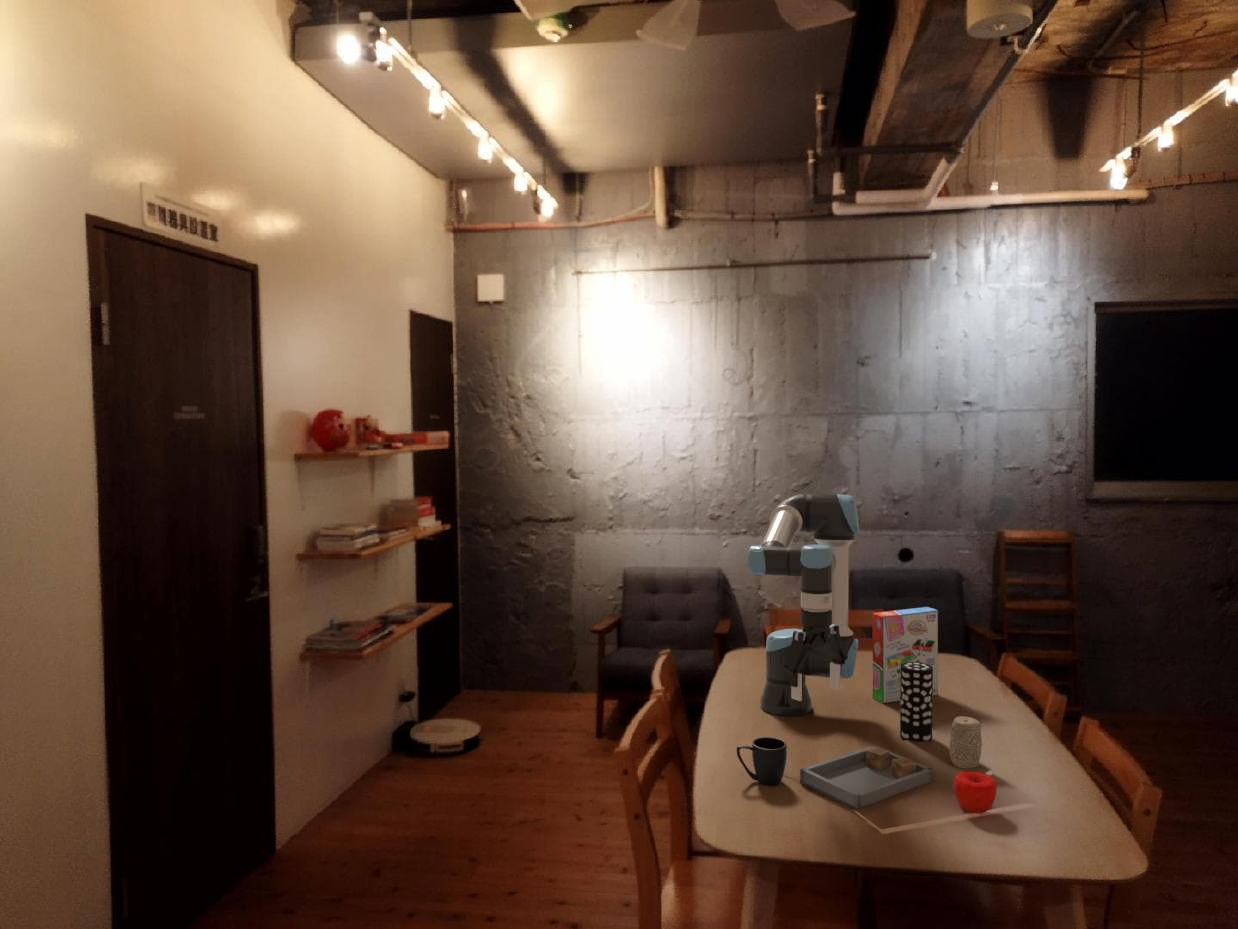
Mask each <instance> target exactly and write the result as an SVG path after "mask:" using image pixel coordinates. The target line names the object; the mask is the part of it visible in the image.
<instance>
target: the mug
mask: <svg viewBox="0 0 1238 929" xmlns="http://www.w3.org/2000/svg"><path fill="white" fill-rule="evenodd" d="M751 743H752V744H751V745H752V746H749V745H737V746H736V756H737V758H738V760H739V762H740V764H741V765H742V767H743V768H744V769H745V771H746V773H747V774H748V775H749V777H750V778H751V779H752V780H754V781H757V782H758V783H759V784H760V785H762V786H766V787H776V786H779V785H780V784H781V783H782V780H783V776H784V773H785V769H786V764H787V757H788V756H787V753H788V752H787V749H788V748H787V742H786V741H785V740H784V739H781V738H777V737H771V736H762V737H758V738H757V737H756V738H755V739H753V740H752V742H751ZM741 749H747V750H750V751H752V763H753V768H754V771H755V772H754V773H753V772H752V771H751V770H750V769H749V768H748V767H747V765H746V763H745V761H744V760H743V758H742V756H741V751H740V750H741Z"/></svg>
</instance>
